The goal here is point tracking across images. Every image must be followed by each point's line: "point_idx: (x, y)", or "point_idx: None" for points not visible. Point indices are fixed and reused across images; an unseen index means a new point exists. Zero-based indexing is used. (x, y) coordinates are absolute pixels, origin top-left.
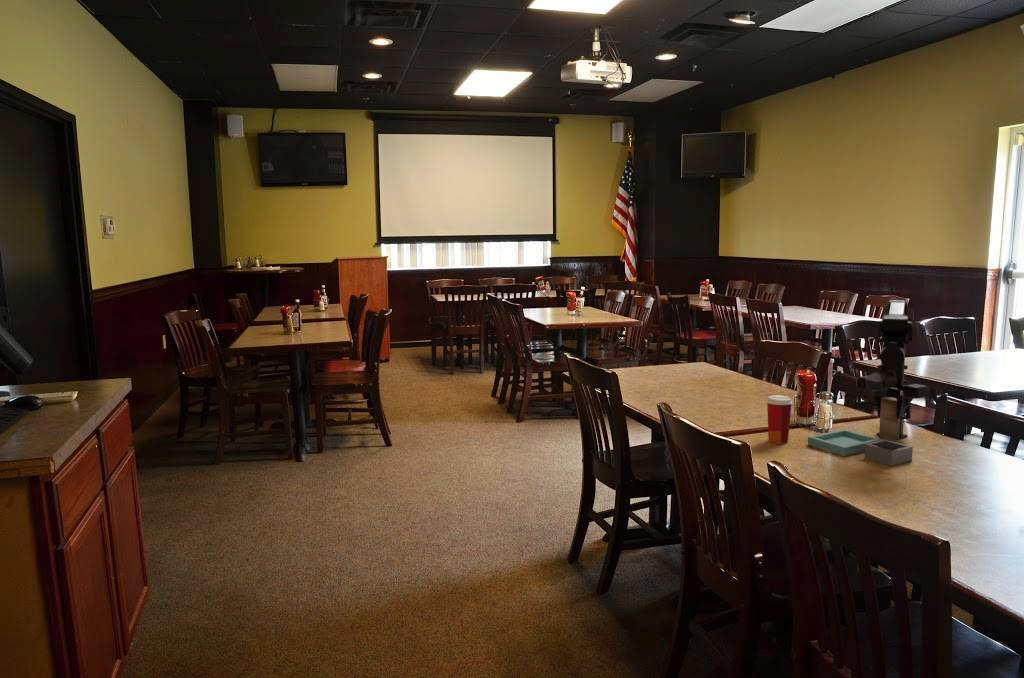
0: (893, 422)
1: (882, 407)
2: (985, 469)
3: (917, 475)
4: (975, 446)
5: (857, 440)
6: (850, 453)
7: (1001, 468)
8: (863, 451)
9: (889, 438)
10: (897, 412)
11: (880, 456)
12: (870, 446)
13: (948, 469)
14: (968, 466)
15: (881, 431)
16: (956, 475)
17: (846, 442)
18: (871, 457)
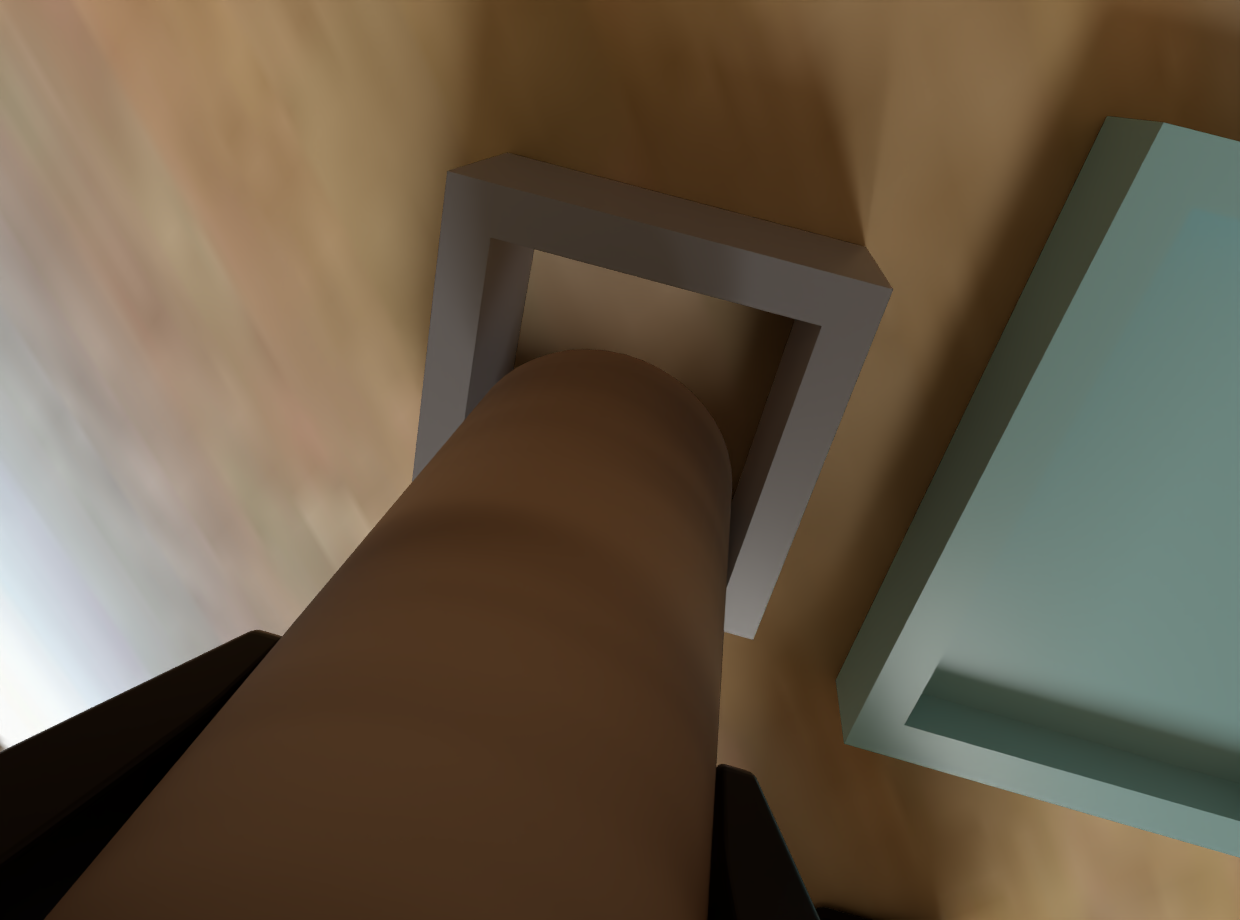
0: (374, 528)
1: (535, 807)
2: (35, 589)
3: (171, 4)
4: None
5: (1092, 700)
6: (1052, 244)
7: (9, 667)
8: (943, 459)
9: (526, 366)
10: (156, 724)
11: (644, 201)
12: (797, 261)
13: (153, 421)
14: (131, 588)
15: (647, 410)
16: (17, 298)
17: (1196, 572)
18: (769, 225)
